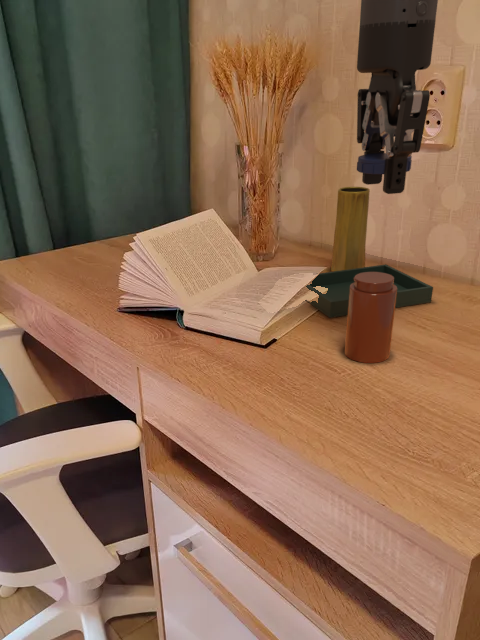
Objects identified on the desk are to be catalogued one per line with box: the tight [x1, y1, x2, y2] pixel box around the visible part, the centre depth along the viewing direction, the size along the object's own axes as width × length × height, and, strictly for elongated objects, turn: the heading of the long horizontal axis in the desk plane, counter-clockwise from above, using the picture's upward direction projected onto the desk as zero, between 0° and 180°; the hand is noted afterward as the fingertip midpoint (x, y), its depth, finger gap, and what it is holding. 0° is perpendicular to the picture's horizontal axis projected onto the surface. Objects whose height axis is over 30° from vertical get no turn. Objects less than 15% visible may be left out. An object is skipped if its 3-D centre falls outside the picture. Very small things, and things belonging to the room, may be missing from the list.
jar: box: [344, 272, 397, 364], centre depth 75 cm, size 6×6×10 cm
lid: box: [356, 152, 413, 175], centre depth 68 cm, size 6×6×2 cm
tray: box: [306, 263, 434, 319], centre depth 95 cm, size 17×13×2 cm
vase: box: [330, 186, 371, 272], centre depth 105 cm, size 6×6×14 cm
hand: (382, 187), depth 69 cm, fingers closed on lid, 5 cm apart
